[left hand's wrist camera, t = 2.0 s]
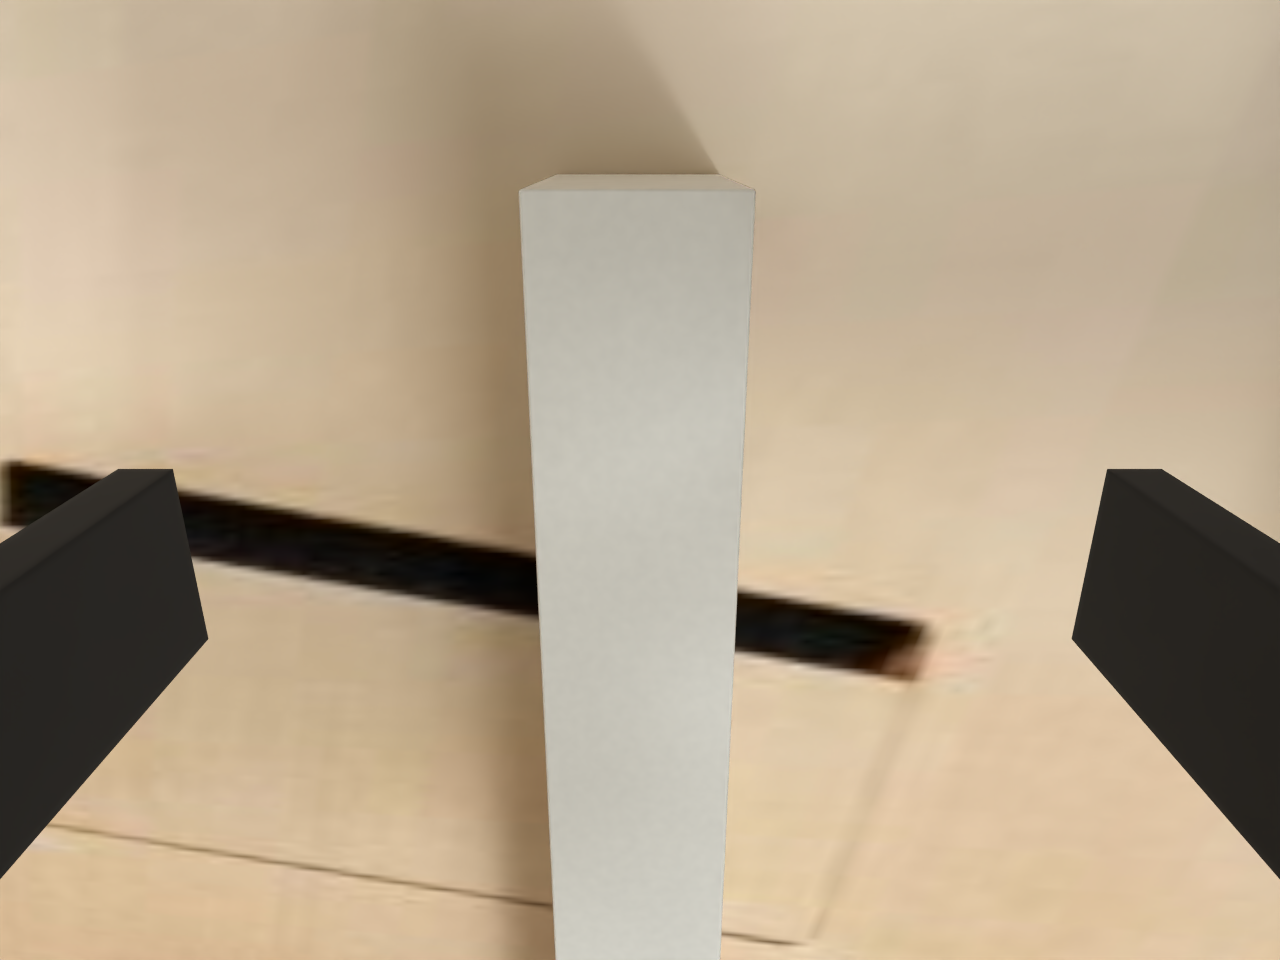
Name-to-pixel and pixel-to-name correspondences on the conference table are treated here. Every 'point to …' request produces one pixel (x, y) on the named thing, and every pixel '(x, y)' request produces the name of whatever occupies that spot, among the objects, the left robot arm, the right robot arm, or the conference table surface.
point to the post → (637, 544)
